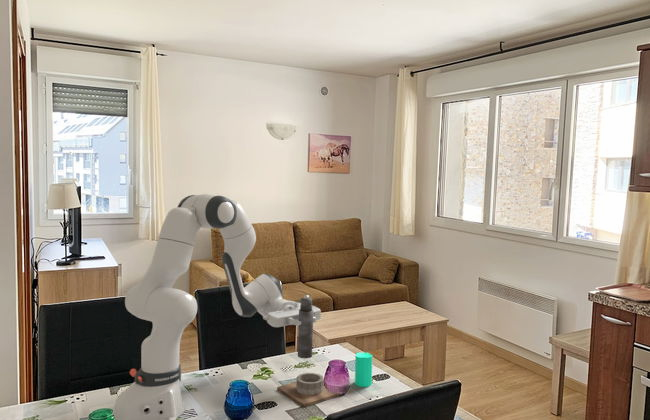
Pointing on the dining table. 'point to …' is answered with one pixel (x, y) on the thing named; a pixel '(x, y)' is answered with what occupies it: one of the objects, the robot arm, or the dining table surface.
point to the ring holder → (307, 390)
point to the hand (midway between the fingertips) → (307, 321)
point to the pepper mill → (305, 328)
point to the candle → (363, 369)
